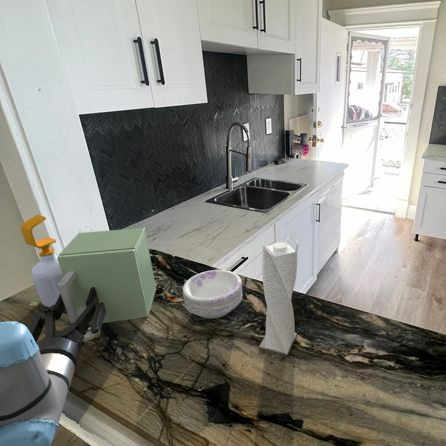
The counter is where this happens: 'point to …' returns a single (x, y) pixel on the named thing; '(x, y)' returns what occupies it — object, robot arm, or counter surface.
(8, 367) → the robot arm
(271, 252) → the skyscraper
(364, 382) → the counter surface
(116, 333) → the counter surface
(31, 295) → the counter surface
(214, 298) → the paper bowls
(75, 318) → the cupboard door
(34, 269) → the soap bottle
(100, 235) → the cupboard
